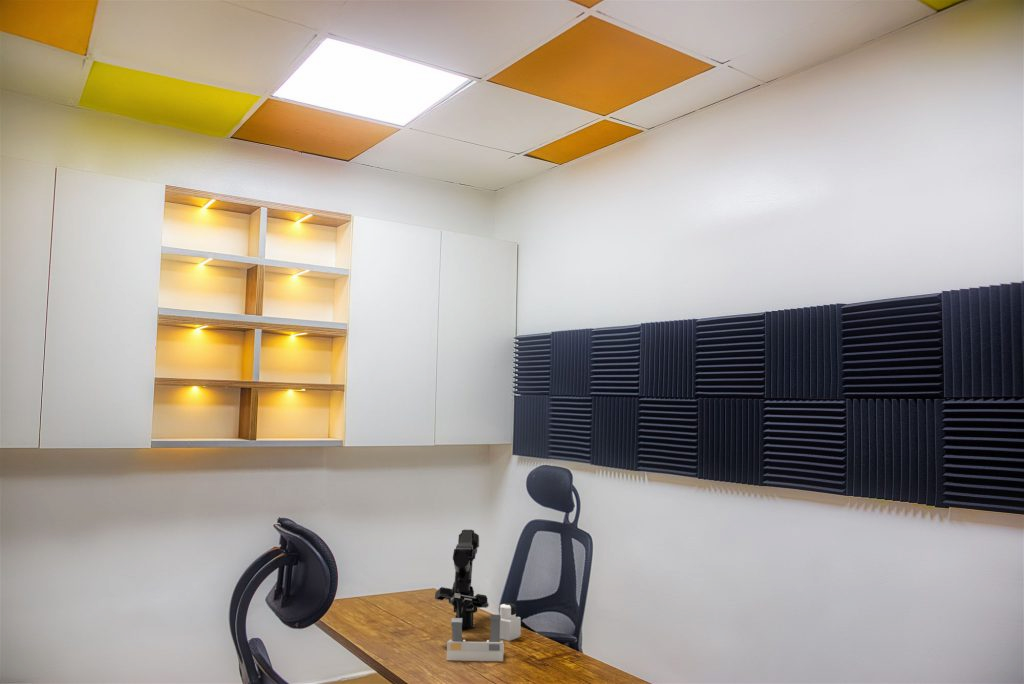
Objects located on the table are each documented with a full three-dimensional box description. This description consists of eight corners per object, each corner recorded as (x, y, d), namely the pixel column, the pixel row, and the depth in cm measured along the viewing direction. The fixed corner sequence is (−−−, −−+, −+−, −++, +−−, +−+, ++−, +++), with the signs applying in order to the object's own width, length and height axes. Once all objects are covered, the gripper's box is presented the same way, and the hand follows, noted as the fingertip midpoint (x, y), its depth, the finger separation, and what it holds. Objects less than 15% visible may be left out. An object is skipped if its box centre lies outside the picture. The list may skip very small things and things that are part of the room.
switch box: (449, 651, 262) (449, 634, 262) (503, 652, 261) (503, 634, 262) (446, 660, 252) (446, 642, 253) (502, 661, 252) (503, 643, 253)
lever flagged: (452, 642, 260) (451, 617, 257) (462, 642, 260) (462, 618, 257) (451, 646, 258) (451, 622, 255) (462, 646, 257) (461, 622, 254)
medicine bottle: (505, 633, 284) (505, 600, 285) (520, 636, 280) (521, 603, 281) (494, 637, 278) (494, 604, 280) (509, 641, 274) (510, 607, 275)
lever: (489, 645, 259) (490, 615, 263) (500, 645, 259) (500, 615, 263) (489, 645, 257) (490, 614, 261) (499, 645, 257) (500, 614, 261)
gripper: (477, 590, 287) (475, 631, 278) (431, 581, 281) (427, 623, 272) (488, 580, 279) (487, 622, 270) (442, 571, 274) (438, 614, 264)
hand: (459, 620), depth 269 cm, fingers closed
